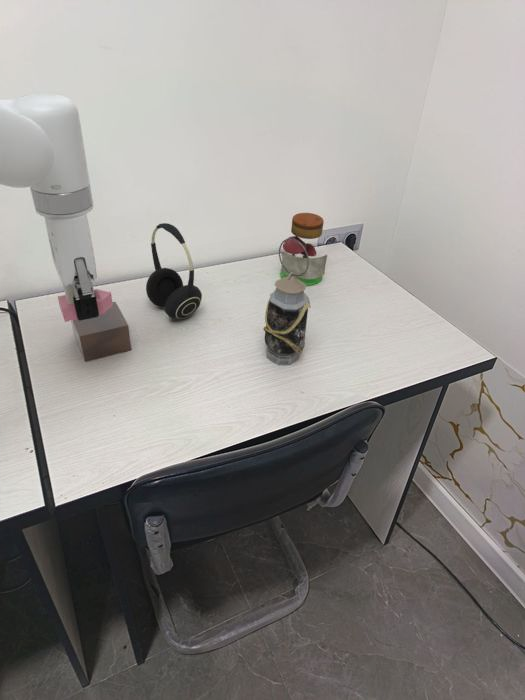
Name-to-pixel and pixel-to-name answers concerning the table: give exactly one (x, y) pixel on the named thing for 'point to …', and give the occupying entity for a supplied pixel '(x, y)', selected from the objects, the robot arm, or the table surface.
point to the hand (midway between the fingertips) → (85, 309)
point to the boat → (69, 308)
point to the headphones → (172, 283)
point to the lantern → (286, 318)
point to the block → (102, 334)
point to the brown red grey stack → (307, 229)
